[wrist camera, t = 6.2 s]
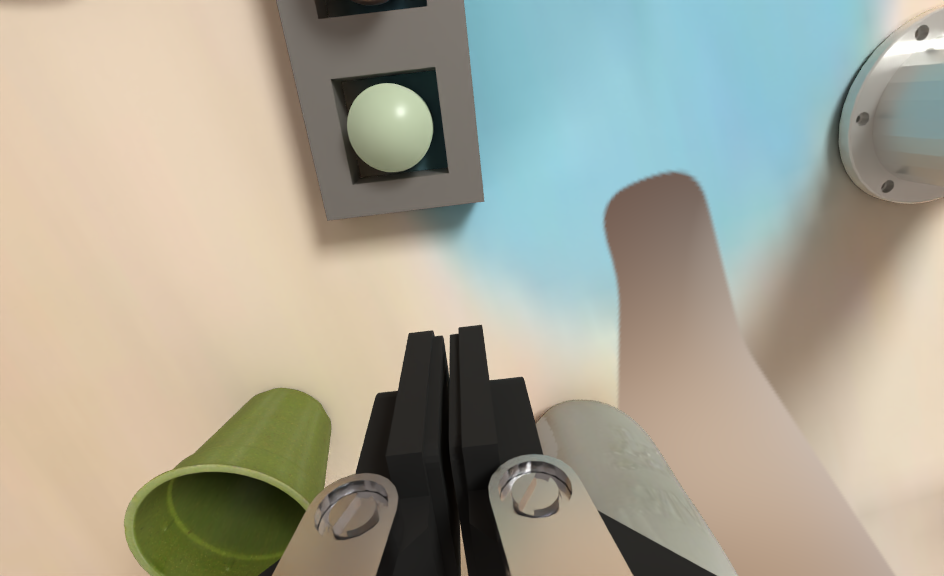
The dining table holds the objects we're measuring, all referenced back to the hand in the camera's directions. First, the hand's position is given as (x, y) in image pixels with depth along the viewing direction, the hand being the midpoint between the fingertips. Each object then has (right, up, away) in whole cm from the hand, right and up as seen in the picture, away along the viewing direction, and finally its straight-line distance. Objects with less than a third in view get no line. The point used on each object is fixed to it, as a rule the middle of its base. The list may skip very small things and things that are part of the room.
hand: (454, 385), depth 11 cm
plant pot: (-15, -9, +28) cm, 33 cm away
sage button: (-5, +13, +19) cm, 24 cm away
